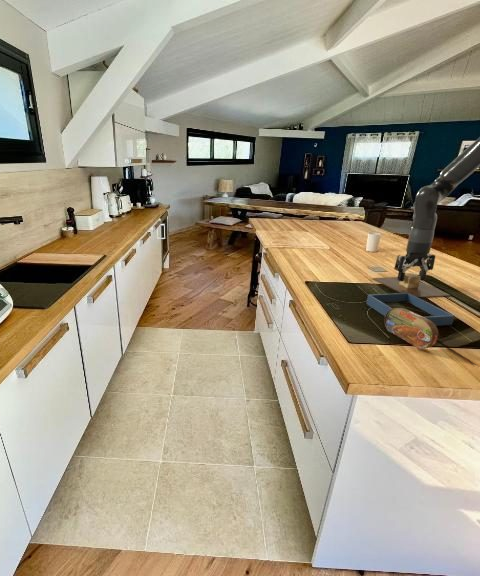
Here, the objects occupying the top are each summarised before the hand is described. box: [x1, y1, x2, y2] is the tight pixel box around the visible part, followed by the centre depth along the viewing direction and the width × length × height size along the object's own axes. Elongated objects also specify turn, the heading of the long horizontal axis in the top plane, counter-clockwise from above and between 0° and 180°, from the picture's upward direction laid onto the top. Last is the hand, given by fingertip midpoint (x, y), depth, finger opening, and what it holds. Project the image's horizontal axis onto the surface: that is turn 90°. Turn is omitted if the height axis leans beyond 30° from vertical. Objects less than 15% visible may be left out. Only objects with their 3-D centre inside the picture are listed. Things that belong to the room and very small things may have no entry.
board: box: [372, 276, 452, 299], centre depth 125 cm, size 16×22×2 cm
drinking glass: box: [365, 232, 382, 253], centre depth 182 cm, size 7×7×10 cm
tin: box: [384, 307, 439, 350], centre depth 88 cm, size 15×3×8 cm, turn 13°
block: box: [399, 272, 421, 288], centre depth 124 cm, size 5×5×5 cm
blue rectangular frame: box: [365, 292, 455, 327], centre depth 103 cm, size 15×19×4 cm
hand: (410, 280), depth 124 cm, fingers open, 8 cm apart
